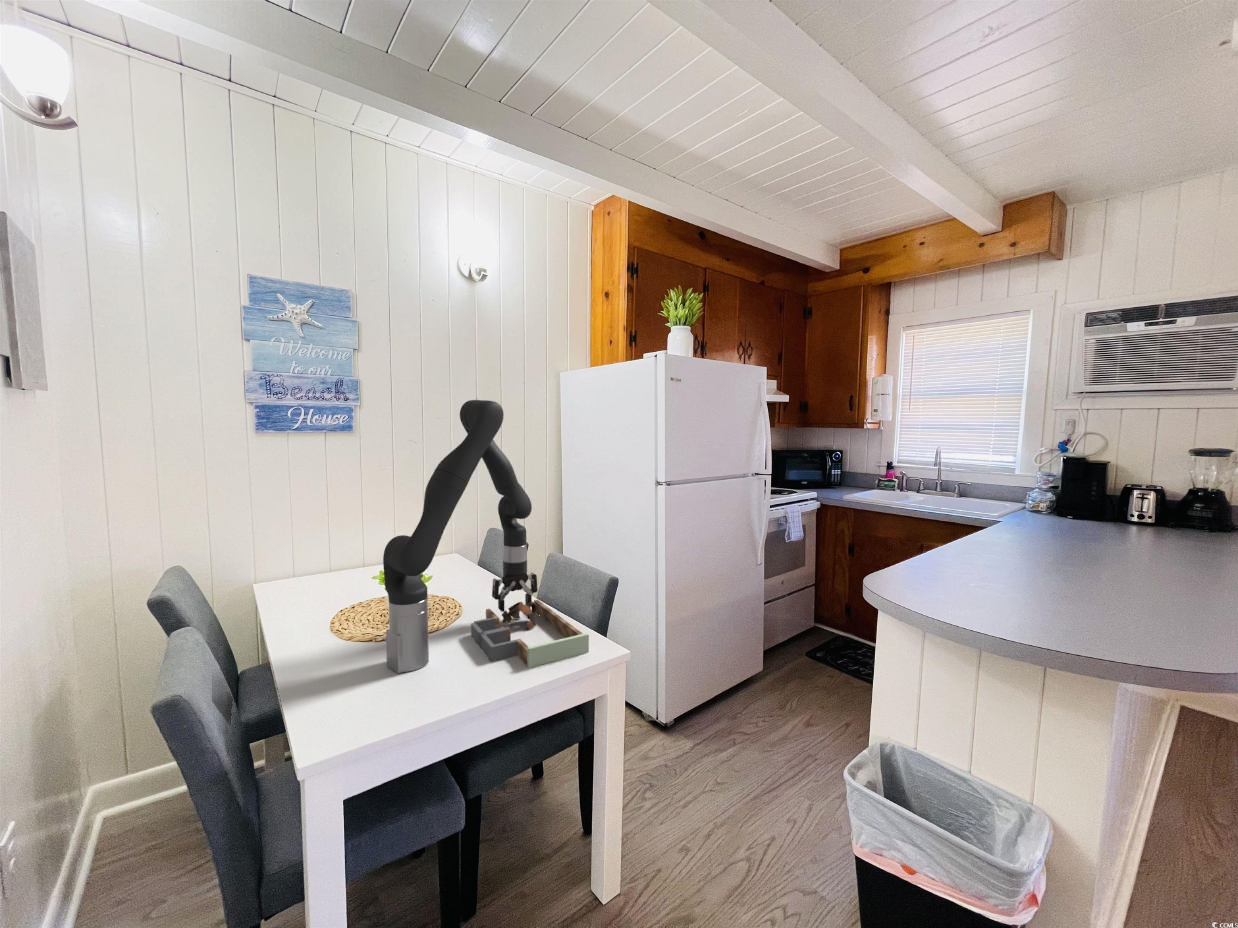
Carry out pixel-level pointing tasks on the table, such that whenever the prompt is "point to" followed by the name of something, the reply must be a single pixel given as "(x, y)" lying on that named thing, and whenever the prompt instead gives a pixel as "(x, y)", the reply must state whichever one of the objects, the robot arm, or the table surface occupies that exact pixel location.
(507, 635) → the walnut track
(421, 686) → the table surface
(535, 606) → the brown black figurine
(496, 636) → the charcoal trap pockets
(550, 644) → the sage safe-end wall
